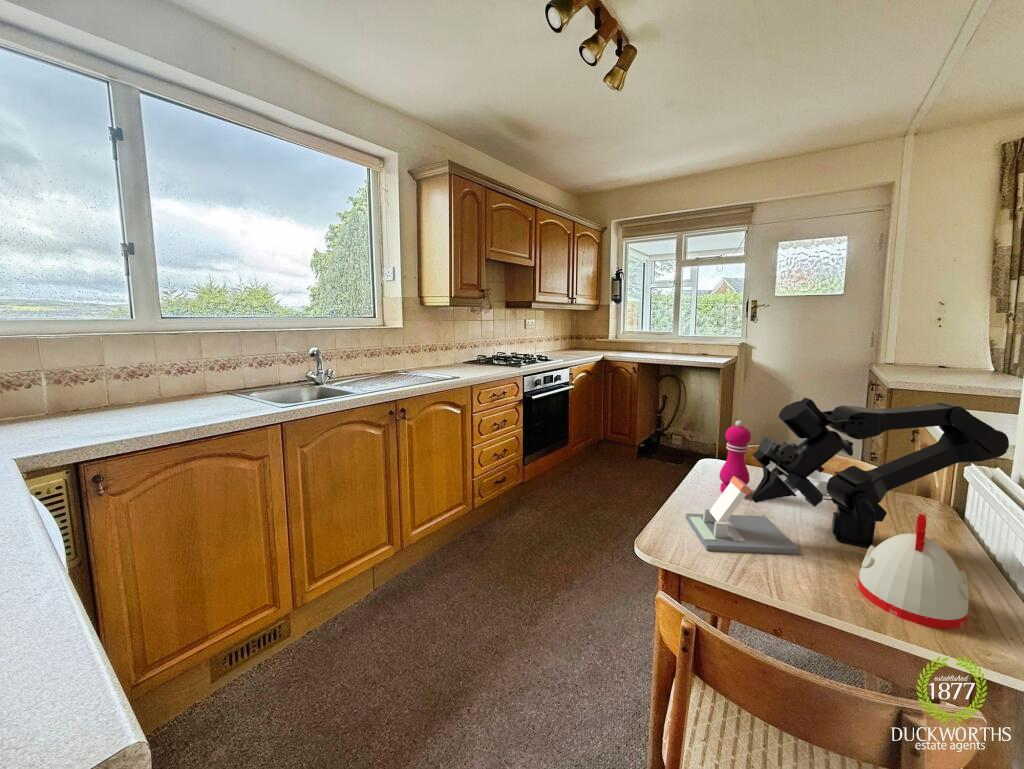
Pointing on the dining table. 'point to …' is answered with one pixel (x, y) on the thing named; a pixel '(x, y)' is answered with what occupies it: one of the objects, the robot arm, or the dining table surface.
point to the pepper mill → (735, 455)
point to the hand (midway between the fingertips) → (753, 500)
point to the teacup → (820, 482)
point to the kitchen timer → (915, 580)
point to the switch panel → (740, 534)
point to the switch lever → (729, 500)
